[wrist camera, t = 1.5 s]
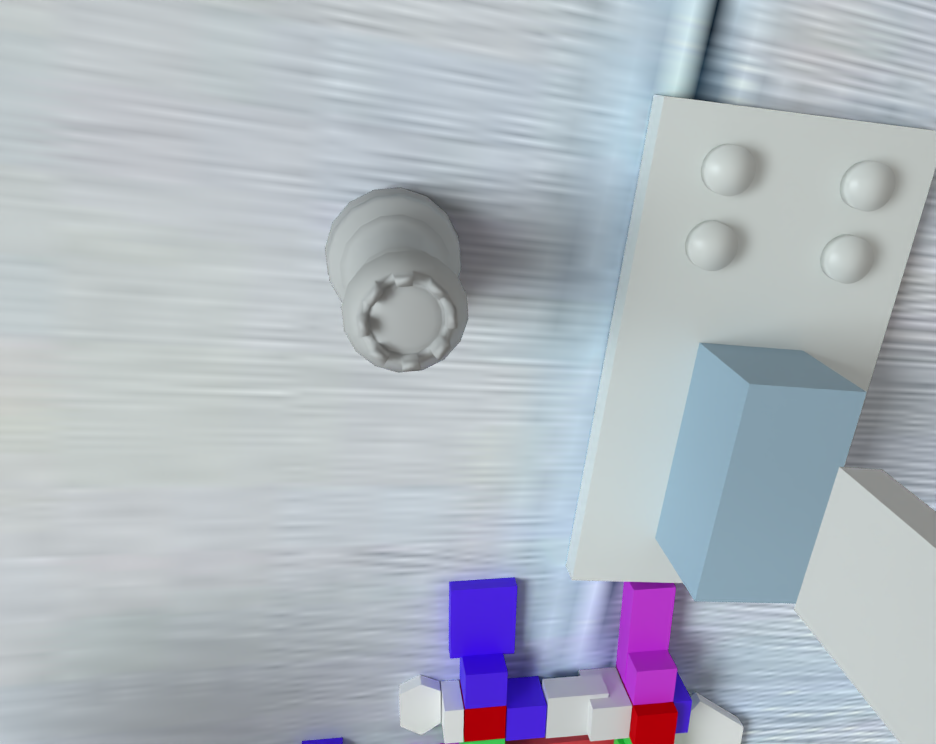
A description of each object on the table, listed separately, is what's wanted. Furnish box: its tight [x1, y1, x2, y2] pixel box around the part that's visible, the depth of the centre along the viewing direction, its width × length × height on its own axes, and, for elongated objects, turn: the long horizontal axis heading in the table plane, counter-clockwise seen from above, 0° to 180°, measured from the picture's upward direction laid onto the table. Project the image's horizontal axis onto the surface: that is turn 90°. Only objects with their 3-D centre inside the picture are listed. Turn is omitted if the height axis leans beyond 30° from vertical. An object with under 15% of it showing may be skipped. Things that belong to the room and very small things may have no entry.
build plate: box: [566, 95, 936, 583], centre depth 30 cm, size 18×10×2 cm, turn 173°
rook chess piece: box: [325, 188, 468, 372], centre depth 24 cm, size 4×4×8 cm
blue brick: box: [655, 343, 867, 604], centre depth 29 cm, size 8×4×4 cm, turn 173°
